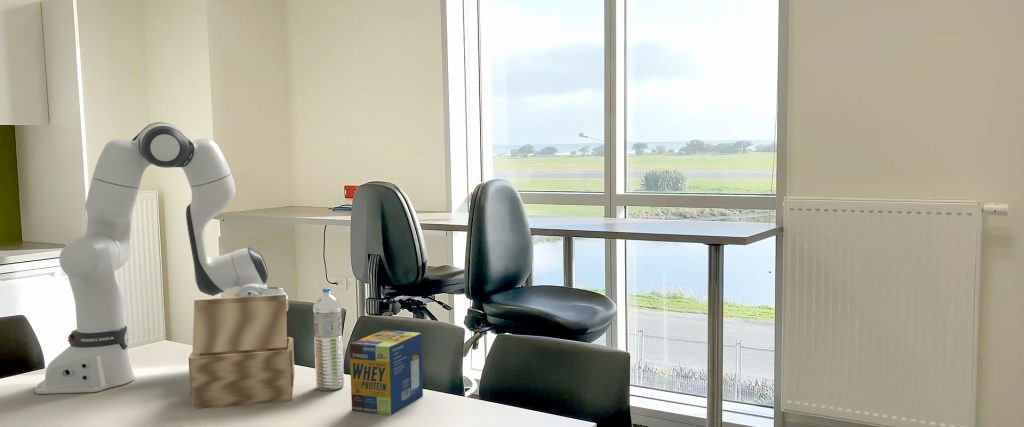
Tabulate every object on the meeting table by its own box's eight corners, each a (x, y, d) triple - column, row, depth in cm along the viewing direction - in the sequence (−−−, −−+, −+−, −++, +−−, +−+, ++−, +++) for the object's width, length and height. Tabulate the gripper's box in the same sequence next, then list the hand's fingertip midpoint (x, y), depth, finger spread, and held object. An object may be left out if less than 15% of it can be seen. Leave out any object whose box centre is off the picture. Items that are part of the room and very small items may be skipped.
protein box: (350, 411, 177) (348, 343, 176) (386, 391, 191) (384, 329, 190) (391, 416, 173) (388, 346, 172) (424, 396, 187) (422, 331, 186)
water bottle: (337, 392, 191) (333, 290, 189) (311, 391, 193) (307, 290, 191) (348, 384, 198) (345, 286, 196) (323, 383, 199) (319, 285, 197)
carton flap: (192, 354, 180) (192, 353, 179) (194, 301, 185) (194, 300, 185) (286, 347, 185) (286, 346, 184) (286, 295, 190) (286, 294, 190)
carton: (190, 409, 180) (188, 358, 179) (199, 391, 194) (197, 343, 193) (293, 400, 185) (291, 350, 185) (295, 383, 199) (293, 337, 199)
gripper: (209, 291, 210) (201, 300, 196) (288, 287, 214) (286, 295, 201) (210, 315, 210) (203, 325, 197) (289, 310, 215) (287, 319, 201)
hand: (246, 310), depth 199 cm, fingers closed
